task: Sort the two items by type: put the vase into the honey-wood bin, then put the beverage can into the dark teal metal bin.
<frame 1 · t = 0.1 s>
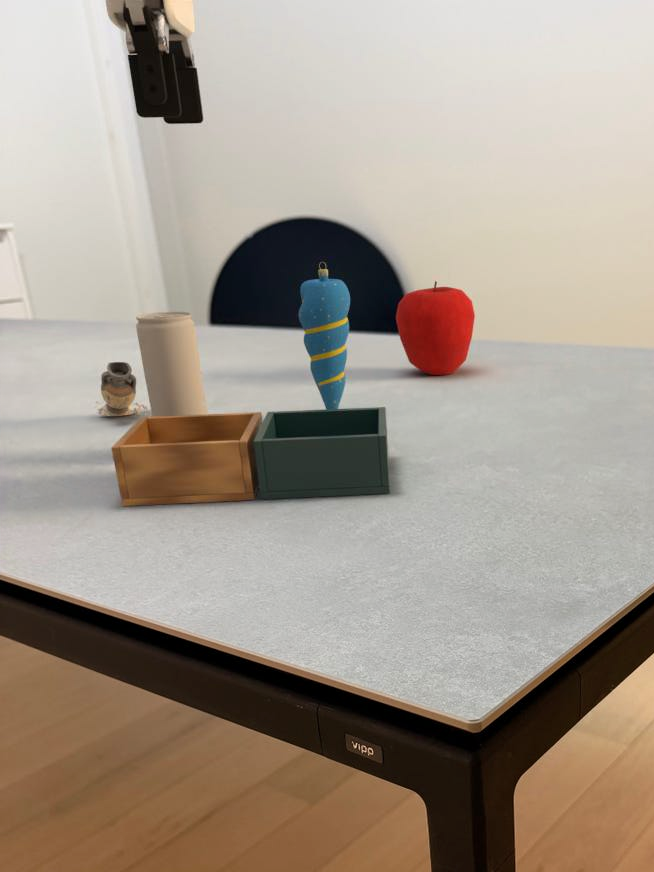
hand: (172, 120, 76), 27 cm above the table, tool pointing down, fingers open, 9 cm apart
can bin: (328, 478, 79), on the table
apple: (438, 374, 119), on the table
beverage can: (186, 454, 87), on the table
vase: (124, 421, 100), on the table
ornament: (334, 418, 99), on the table
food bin: (199, 484, 78), on the table
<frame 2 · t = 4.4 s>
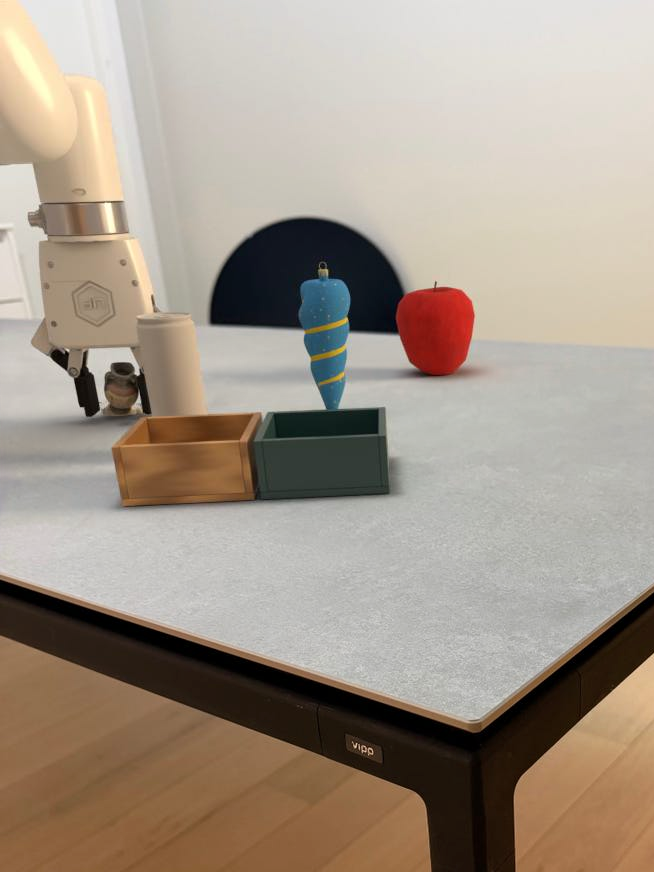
hand: (121, 411, 99), 1 cm above the table, tool pointing down, fingers closed on vase, 5 cm apart
vase: (128, 421, 100), on the table, touching gripper
everything else where it was.
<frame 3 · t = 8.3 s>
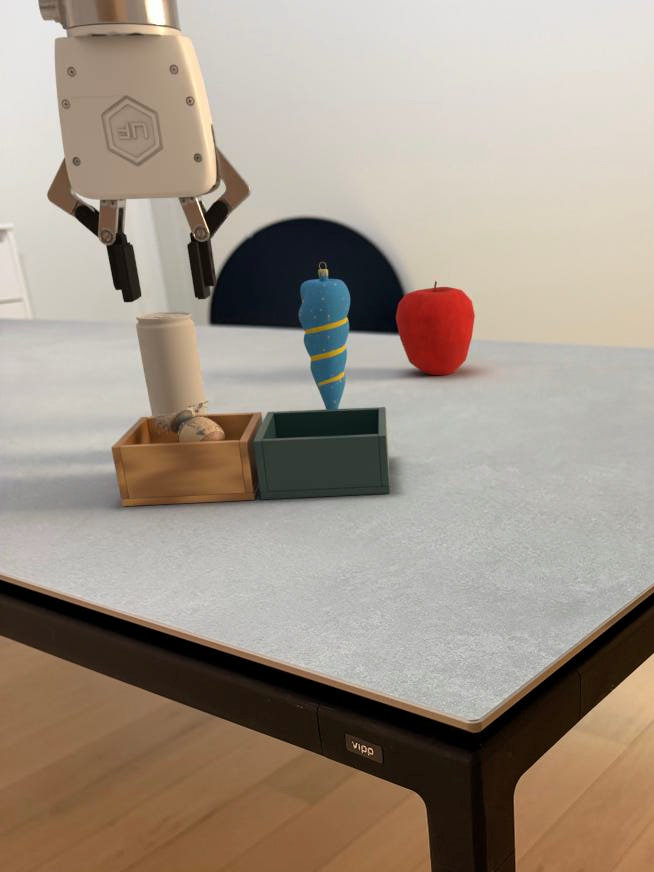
hand: (167, 296, 73), 14 cm above the table, tool pointing down, fingers open, 4 cm apart
vase: (187, 441, 78), point 3 cm above the table, touching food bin
everything else where it was.
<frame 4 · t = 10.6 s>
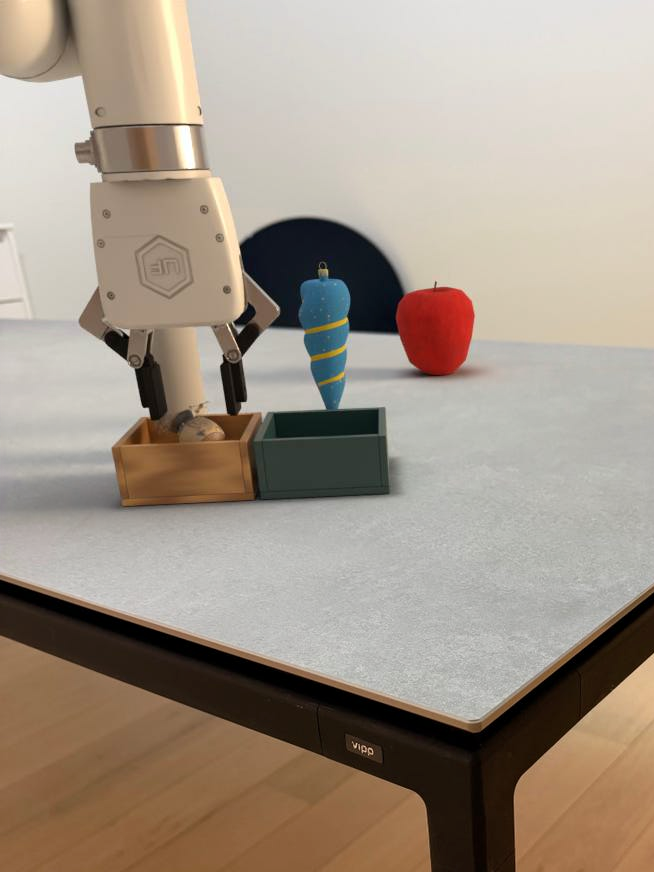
hand: (197, 412, 75), 6 cm above the table, tool pointing down, fingers closed on vase, 5 cm apart
vase: (188, 441, 78), point 3 cm above the table, touching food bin, gripper
everything else where it was.
when the fingers open (6 cm above the table, at t = 10.9 s): vase stays where it is, resting on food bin.
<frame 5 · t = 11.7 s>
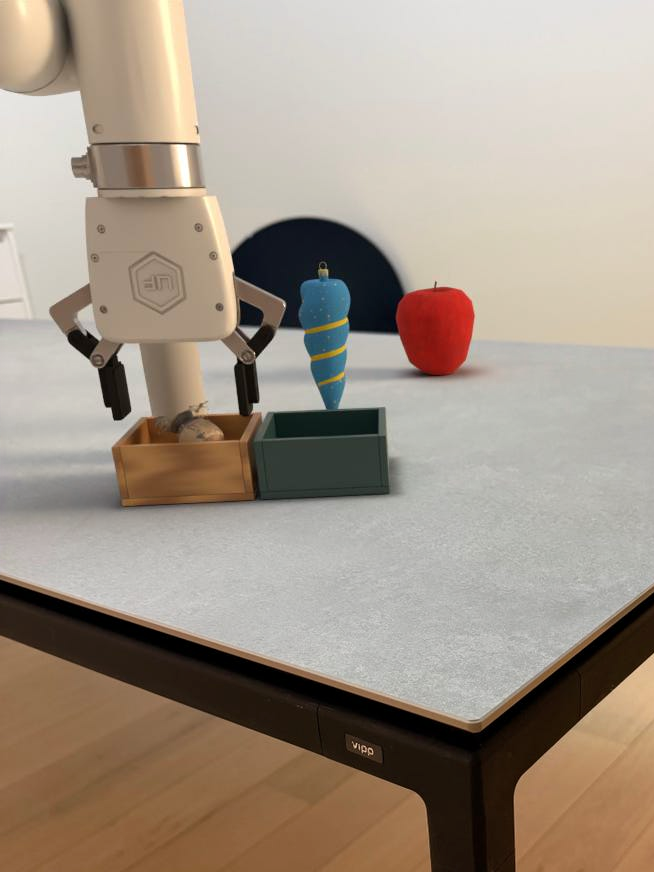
hand: (185, 414, 75), 6 cm above the table, tool pointing down, fingers open, 9 cm apart
vase: (187, 440, 78), point 3 cm above the table, touching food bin
everything else where it was.
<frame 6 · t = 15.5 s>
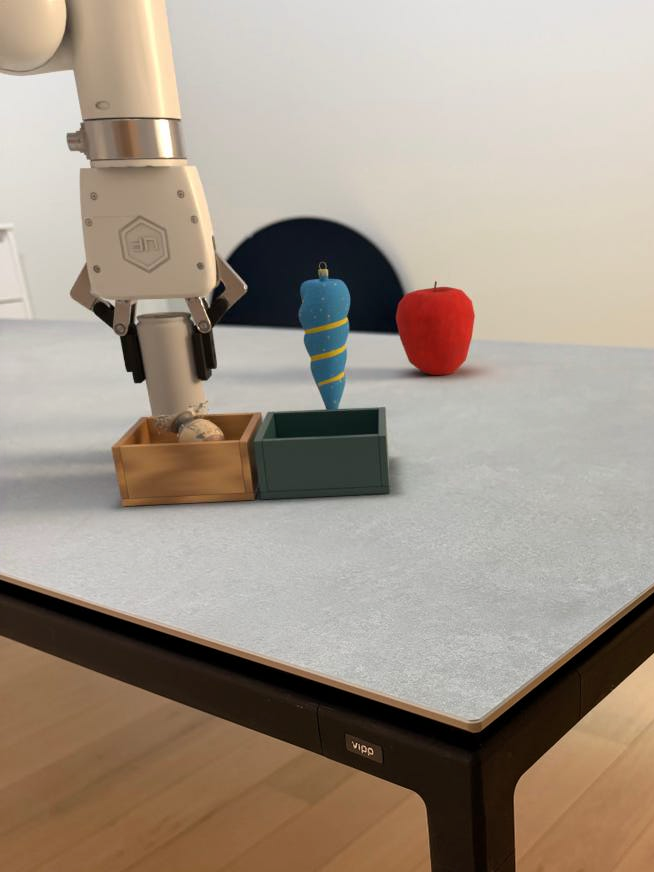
hand: (173, 377, 84), 7 cm above the table, tool pointing down, fingers closed on beverage can, 4 cm apart
beverage can: (186, 454, 87), on the table, touching gripper
everything else where it was.
when the fingers open (7 cm above the table, at t = 22.0 s): beverage can stays where it is, resting on can bin.
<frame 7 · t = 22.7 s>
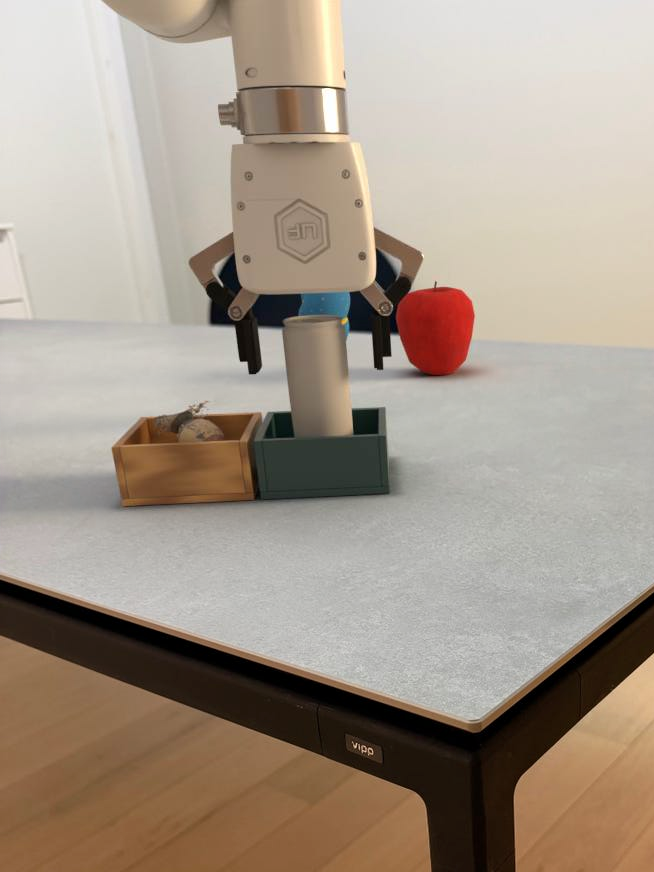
hand: (317, 369, 75), 9 cm above the table, tool pointing down, fingers open, 9 cm apart
beverage can: (327, 473, 78), resting on can bin
everything else where it was.
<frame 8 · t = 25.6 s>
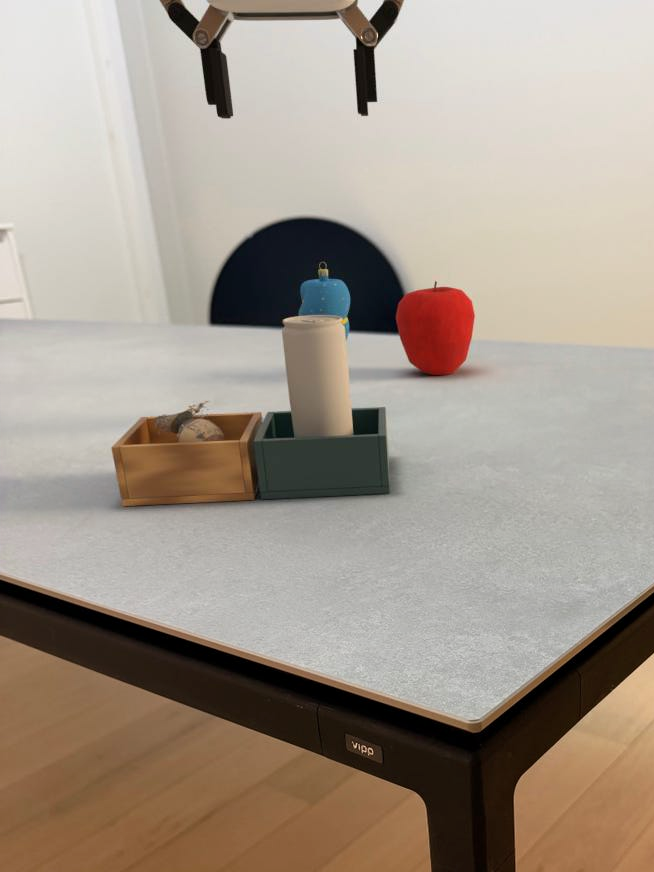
hand: (294, 116, 67), 26 cm above the table, tool pointing down, fingers open, 9 cm apart
nothing on the table moved.
at the end: vase inside the target area in the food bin (2.1 cm from its centre), point 3.2 cm above the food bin's base; beverage can inside the target area in the can bin (0.1 cm from its centre), point 0.4 cm above the can bin's base; beverage can tilted 0° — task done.
